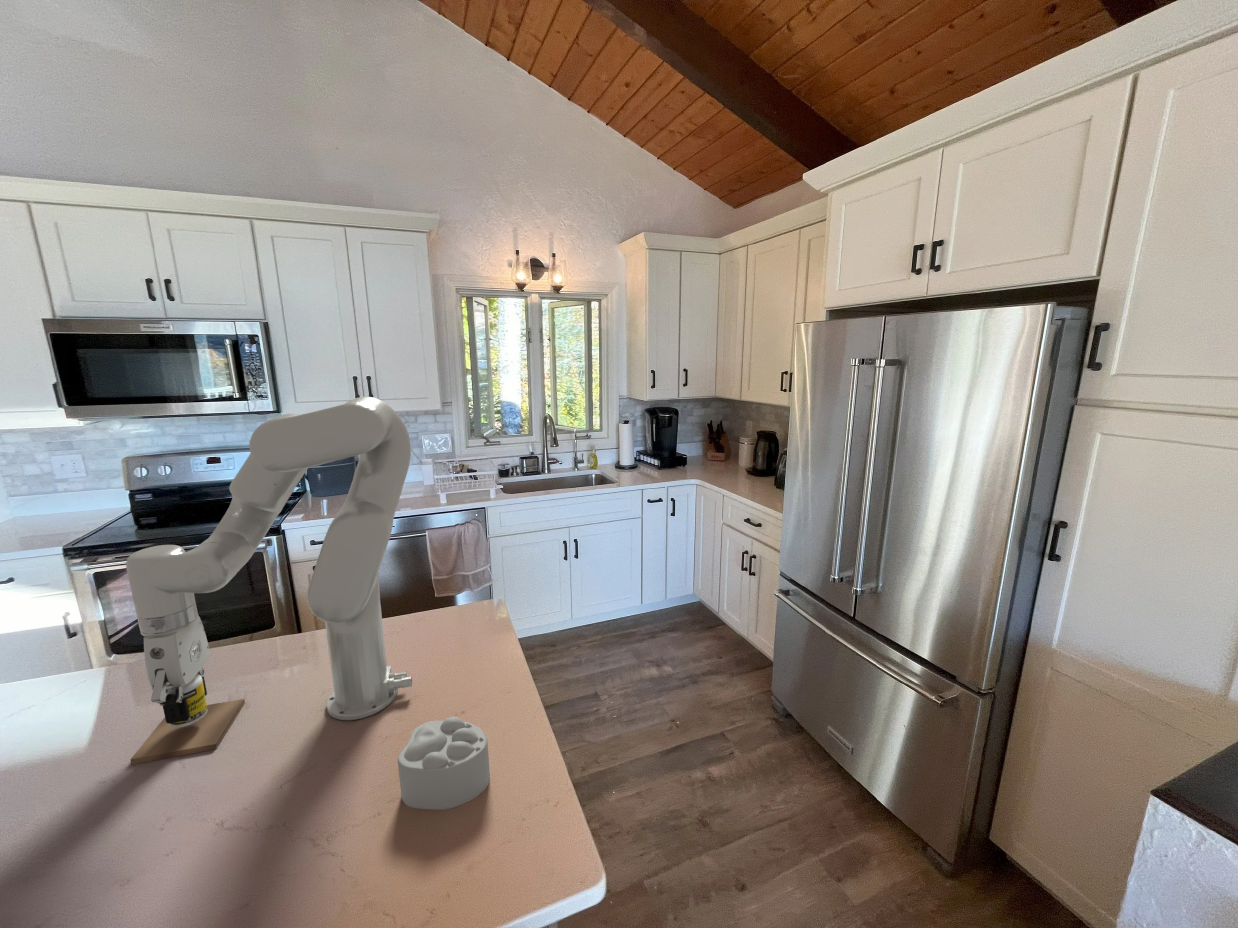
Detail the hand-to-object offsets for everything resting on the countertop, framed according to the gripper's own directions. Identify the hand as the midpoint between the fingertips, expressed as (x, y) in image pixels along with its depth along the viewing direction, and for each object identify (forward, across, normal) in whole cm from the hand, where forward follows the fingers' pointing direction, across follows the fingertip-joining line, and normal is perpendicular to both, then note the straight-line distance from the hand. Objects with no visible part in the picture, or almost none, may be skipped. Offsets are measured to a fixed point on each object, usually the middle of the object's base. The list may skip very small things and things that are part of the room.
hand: (187, 707), depth 90 cm
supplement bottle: (+2, 0, 0) cm, 2 cm away
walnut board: (+5, 0, 0) cm, 5 cm away
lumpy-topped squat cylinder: (+5, -24, -45) cm, 51 cm away
